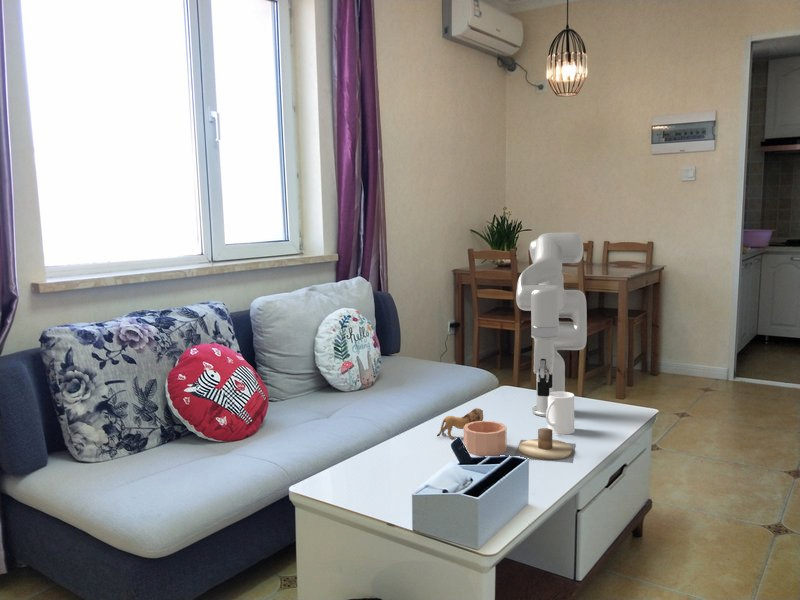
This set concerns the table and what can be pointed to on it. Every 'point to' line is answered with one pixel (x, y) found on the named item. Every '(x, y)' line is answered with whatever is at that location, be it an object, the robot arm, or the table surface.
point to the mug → (560, 412)
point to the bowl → (485, 438)
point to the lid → (545, 447)
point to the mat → (567, 459)
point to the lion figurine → (460, 421)
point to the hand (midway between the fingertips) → (545, 391)
